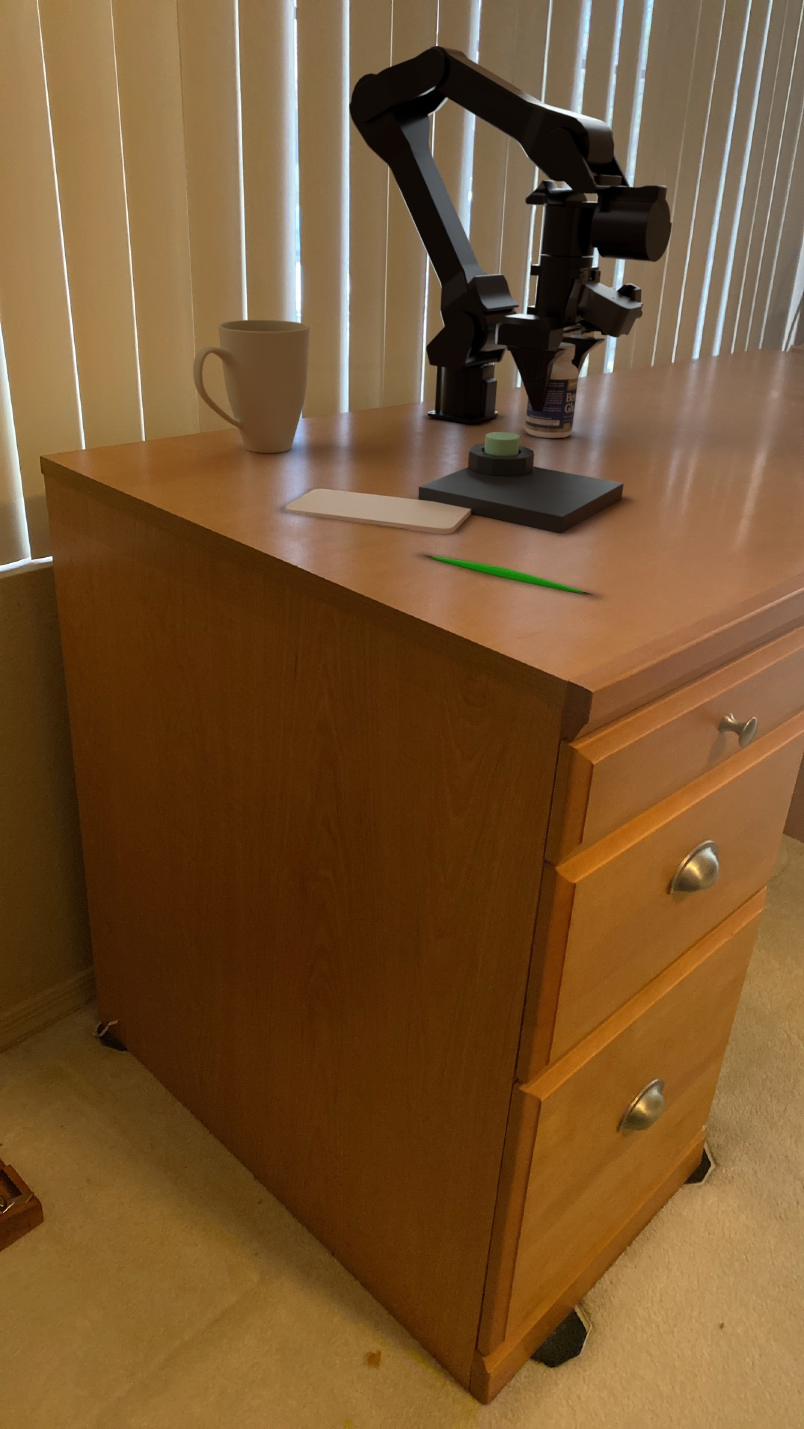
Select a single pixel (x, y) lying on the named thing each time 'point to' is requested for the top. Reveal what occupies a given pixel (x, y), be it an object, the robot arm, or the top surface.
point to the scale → (522, 491)
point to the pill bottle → (556, 400)
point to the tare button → (502, 443)
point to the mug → (261, 379)
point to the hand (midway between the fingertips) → (550, 406)
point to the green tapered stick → (506, 574)
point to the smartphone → (381, 510)
